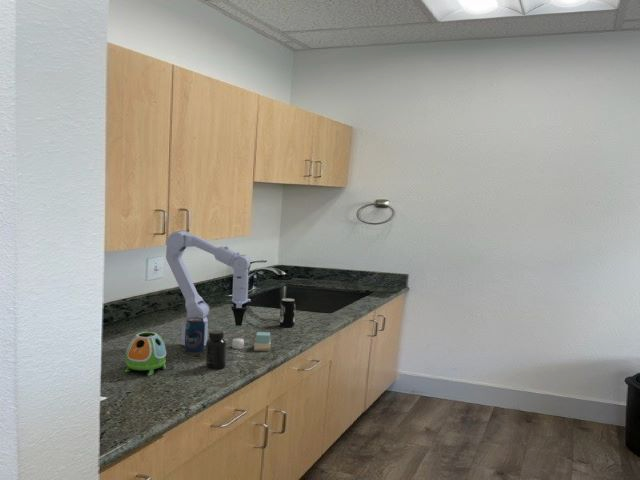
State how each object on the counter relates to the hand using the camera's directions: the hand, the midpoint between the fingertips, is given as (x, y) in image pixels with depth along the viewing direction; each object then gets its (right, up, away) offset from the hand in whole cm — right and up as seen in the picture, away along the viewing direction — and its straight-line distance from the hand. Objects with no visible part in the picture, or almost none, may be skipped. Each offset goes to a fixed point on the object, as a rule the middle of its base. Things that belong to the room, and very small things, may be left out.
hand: (239, 323), depth 225 cm
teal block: (+9, -7, +1) cm, 12 cm away
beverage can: (+16, -7, +39) cm, 43 cm away
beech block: (+9, -10, +1) cm, 13 cm away
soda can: (-15, -10, -8) cm, 20 cm away
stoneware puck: (-1, -9, +1) cm, 10 cm away
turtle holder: (-26, -11, -30) cm, 41 cm away
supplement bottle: (-5, -12, -24) cm, 27 cm away
